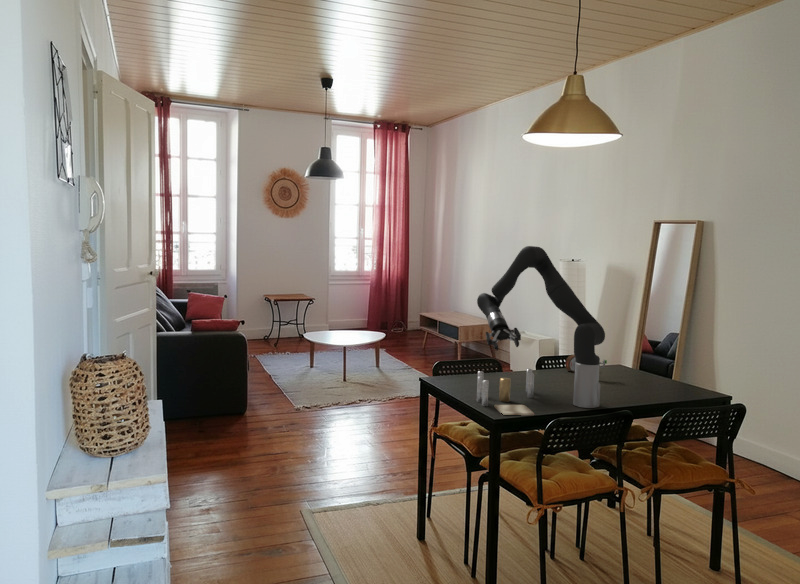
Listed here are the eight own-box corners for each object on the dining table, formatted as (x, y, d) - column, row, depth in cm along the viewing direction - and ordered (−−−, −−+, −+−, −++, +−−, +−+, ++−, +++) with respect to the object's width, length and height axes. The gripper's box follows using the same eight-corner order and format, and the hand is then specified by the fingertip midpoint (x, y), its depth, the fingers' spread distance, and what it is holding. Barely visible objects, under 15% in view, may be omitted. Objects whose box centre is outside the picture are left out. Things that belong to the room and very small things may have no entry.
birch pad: (523, 406, 240) (523, 404, 239) (534, 415, 228) (534, 413, 228) (494, 406, 238) (494, 404, 238) (503, 415, 226) (503, 413, 226)
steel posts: (530, 391, 265) (531, 368, 264) (550, 406, 242) (551, 381, 241) (467, 391, 261) (468, 368, 260) (481, 406, 238) (482, 381, 237)
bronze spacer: (507, 399, 251) (508, 377, 250) (511, 401, 246) (512, 380, 245) (497, 399, 250) (498, 377, 249) (500, 401, 246) (501, 380, 245)
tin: (584, 369, 317) (585, 353, 316) (589, 370, 314) (590, 354, 314) (564, 371, 309) (565, 355, 308) (569, 372, 306) (569, 356, 306)
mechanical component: (605, 381, 290) (607, 360, 289) (583, 379, 292) (584, 358, 291) (605, 379, 292) (606, 359, 292) (582, 378, 294) (584, 357, 294)
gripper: (481, 319, 264) (490, 343, 251) (513, 314, 265) (524, 337, 252) (481, 333, 269) (490, 356, 255) (513, 328, 269) (524, 351, 256)
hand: (507, 347), depth 253 cm, fingers open, 8 cm apart
